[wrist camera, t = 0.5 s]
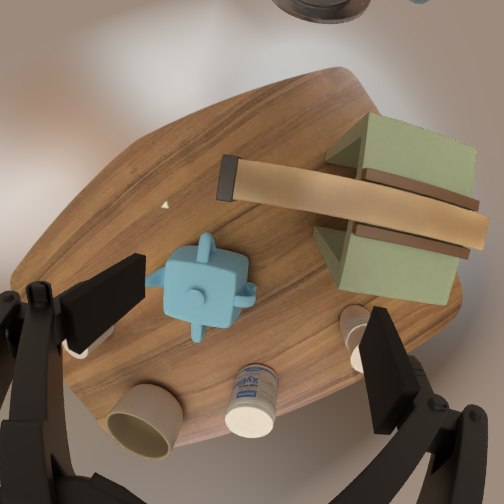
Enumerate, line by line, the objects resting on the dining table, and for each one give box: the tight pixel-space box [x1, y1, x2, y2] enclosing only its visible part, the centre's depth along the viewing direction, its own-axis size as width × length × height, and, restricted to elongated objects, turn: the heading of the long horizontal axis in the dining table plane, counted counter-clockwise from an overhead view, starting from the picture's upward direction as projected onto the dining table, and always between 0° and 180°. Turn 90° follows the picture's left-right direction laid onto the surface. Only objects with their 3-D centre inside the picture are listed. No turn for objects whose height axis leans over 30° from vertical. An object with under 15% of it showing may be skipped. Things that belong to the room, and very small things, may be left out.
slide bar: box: [216, 154, 489, 251], centre depth 22 cm, size 3×23×4 cm, turn 81°
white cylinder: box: [62, 325, 114, 359], centre depth 59 cm, size 8×8×12 cm
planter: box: [105, 384, 183, 460], centre depth 61 cm, size 17×17×15 cm
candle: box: [339, 305, 370, 373], centre depth 50 cm, size 7×7×15 cm
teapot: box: [145, 232, 257, 343], centre depth 52 cm, size 18×16×14 cm
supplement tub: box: [225, 364, 278, 438], centre depth 56 cm, size 10×10×15 cm
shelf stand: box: [312, 112, 479, 306], centre depth 37 cm, size 16×12×32 cm
